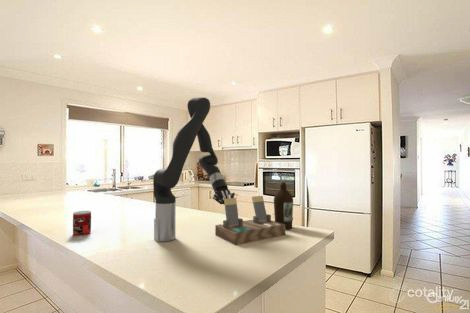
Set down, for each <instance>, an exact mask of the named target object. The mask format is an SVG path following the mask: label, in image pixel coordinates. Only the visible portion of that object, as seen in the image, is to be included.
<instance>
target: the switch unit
mask: <svg viewBox="0 0 470 313" xmlns="http://www.w3.org/2000/svg"><path fill="white" fill-rule="evenodd" d="M266 214H267V213H266ZM238 219H239V225H237V226H230V227H229V221H227V220H226V219H225V220H223V221H222V223H219V224H215V226H214V227H215V229H214V230H215V236H216V237H218V238H220V239H222V240H224V241H226V242H228V243H231V244H232V245H234V246H236V245H240V244H245V243H247V244H248V243H251V242H255V241H260V240H265V239H271V238H275V237H280V236H281V237H282V236H285V235H286V230H285V224H281V223H278V222H275V220H272V214H267V221H262V222H259V217H257V216H256V215H254V216H253V217H252V219H248V220H247V219H246V220H243V218H241V217H238Z"/></svg>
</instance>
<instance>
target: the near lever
mask: <svg viewBox="0 0 470 313" xmlns="http://www.w3.org/2000/svg"><path fill="white" fill-rule="evenodd" d="M230 198H231V197H230ZM230 198H229V199H224V204H225V205H224V204H223V205H224V211H225V212H224V213H225V220H227V221H229V227H230V226H237V225H239V219H238V218H239V212H238V203H237V202H238V200H237V197H234V198H231V199H230Z"/></svg>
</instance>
